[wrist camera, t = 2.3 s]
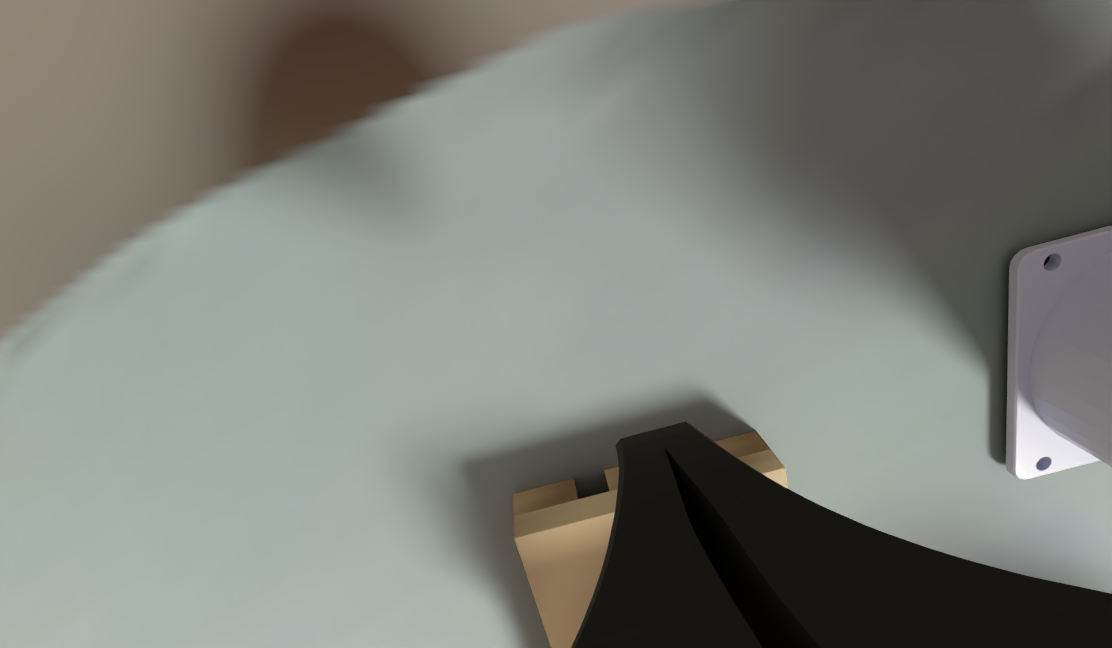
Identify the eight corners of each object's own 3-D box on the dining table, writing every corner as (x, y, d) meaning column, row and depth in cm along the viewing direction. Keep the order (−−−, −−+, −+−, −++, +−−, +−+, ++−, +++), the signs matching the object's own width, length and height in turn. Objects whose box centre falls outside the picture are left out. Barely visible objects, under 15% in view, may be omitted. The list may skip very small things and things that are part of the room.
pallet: (752, 425, 20) (785, 467, 17) (786, 649, 23) (817, 708, 21) (513, 488, 20) (514, 538, 17) (582, 702, 23) (591, 766, 21)
